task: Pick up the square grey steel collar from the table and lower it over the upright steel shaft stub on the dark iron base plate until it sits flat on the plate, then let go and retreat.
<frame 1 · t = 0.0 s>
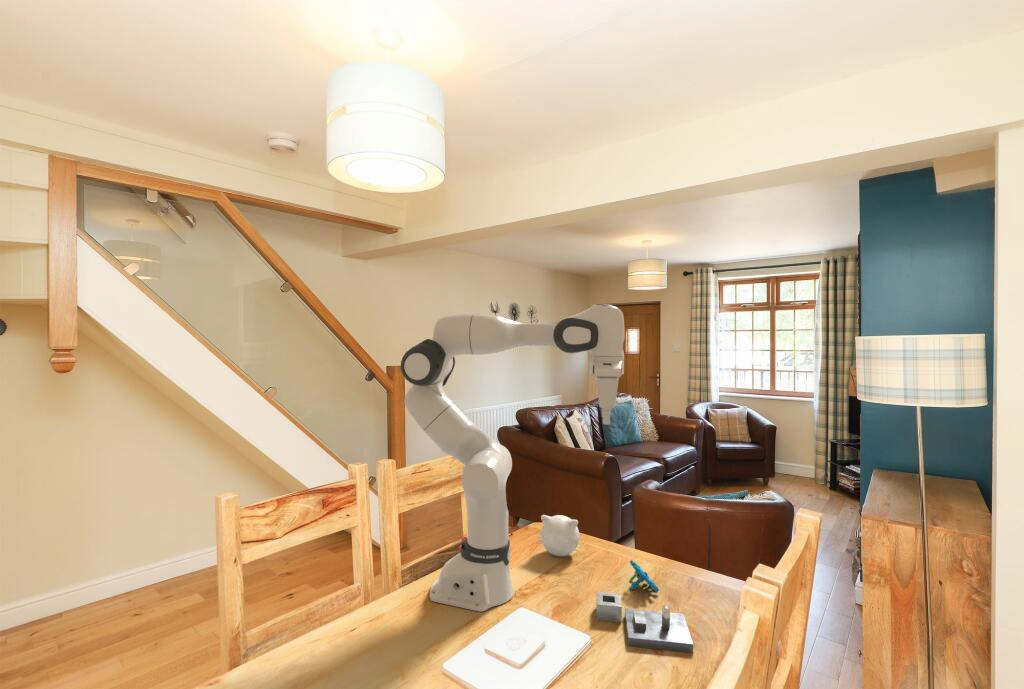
hand: (605, 420, 130), 48 cm above the table, tool pointing down, fingers open, 8 cm apart
collar: (608, 614, 126), on the table
cat head: (559, 554, 160), on the table
gear: (643, 589, 139), on the table
shaft stand: (656, 633, 118), on the table
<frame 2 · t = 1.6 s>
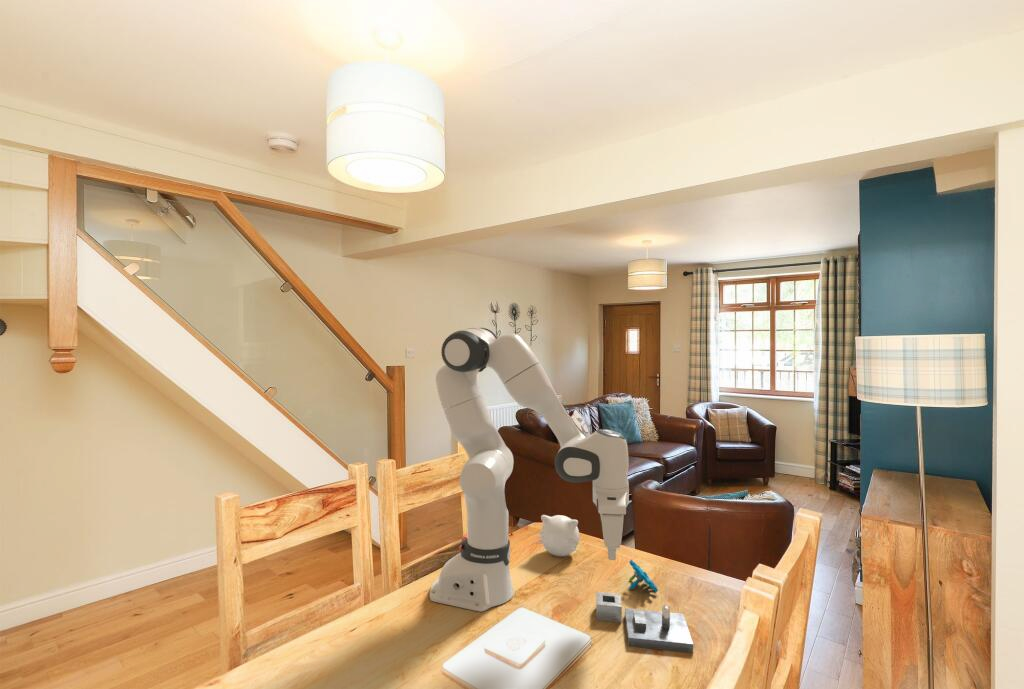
hand: (611, 550, 125), 16 cm above the table, tool pointing down, fingers open, 8 cm apart
nothing on the table moved.
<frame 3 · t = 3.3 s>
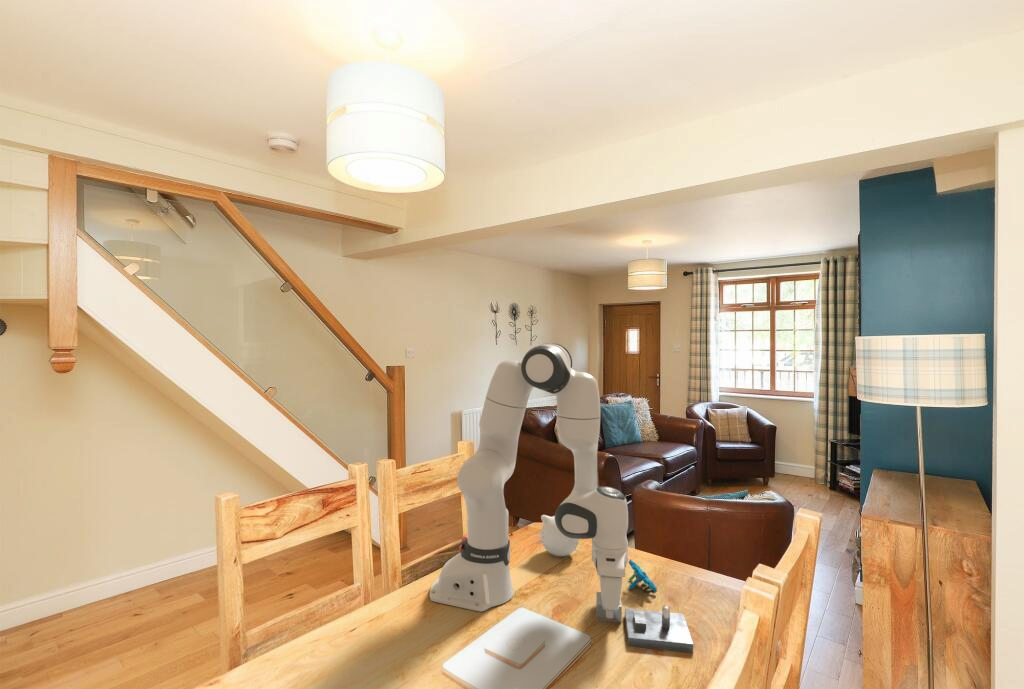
hand: (608, 608, 126), 2 cm above the table, tool pointing down, fingers closed on collar, 6 cm apart
collar: (608, 614, 126), on the table, touching gripper
everything else where it was.
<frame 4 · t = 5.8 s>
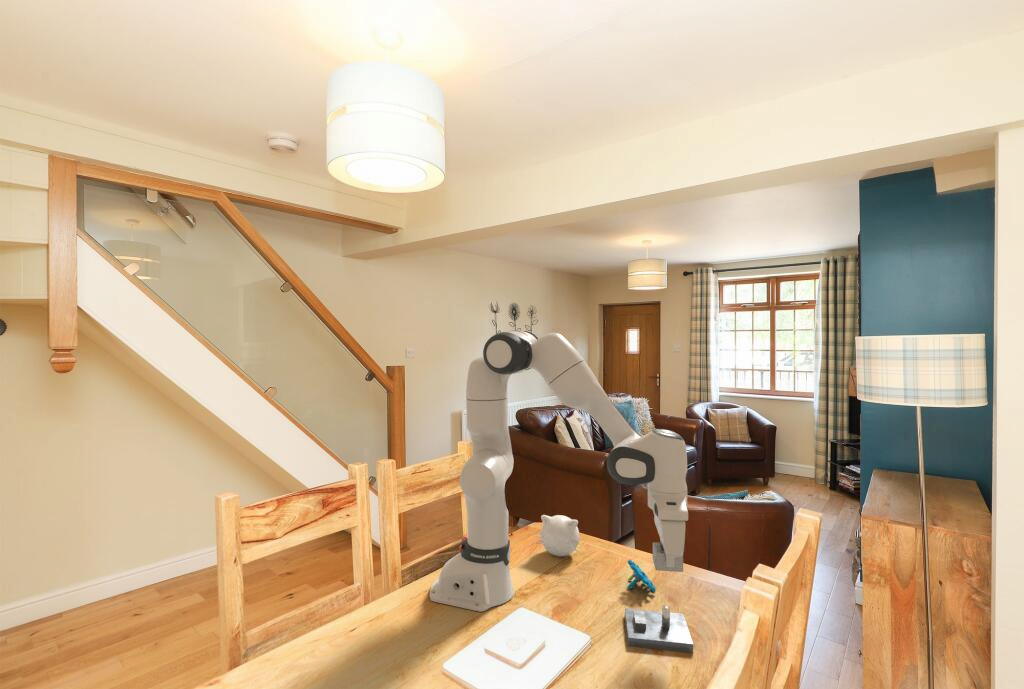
hand: (667, 558, 118), 18 cm above the table, tool pointing down, fingers closed on collar, 6 cm apart
collar: (667, 565, 118), point 16 cm above the table, touching gripper
everything else where it was.
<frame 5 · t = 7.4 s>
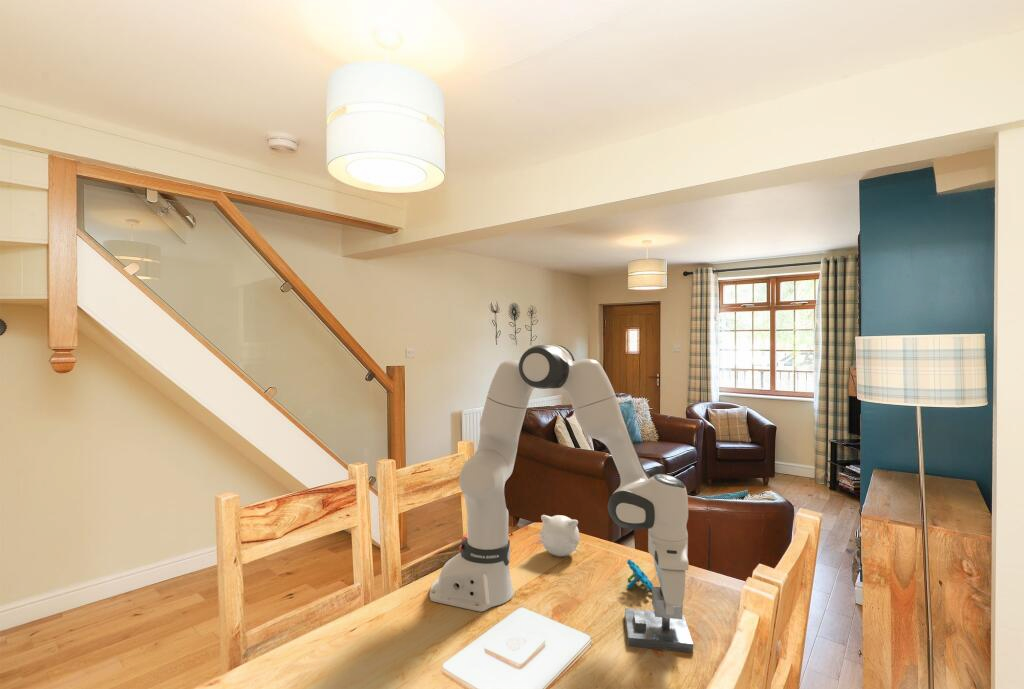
hand: (666, 604, 118), 7 cm above the table, tool pointing down, fingers closed on collar, 6 cm apart
collar: (666, 610, 118), point 6 cm above the table, touching gripper
everything else where it was.
when the fingers open (5 cm above the table, at t = 8.4 s): collar drops 1 cm, resting on shaft stand.
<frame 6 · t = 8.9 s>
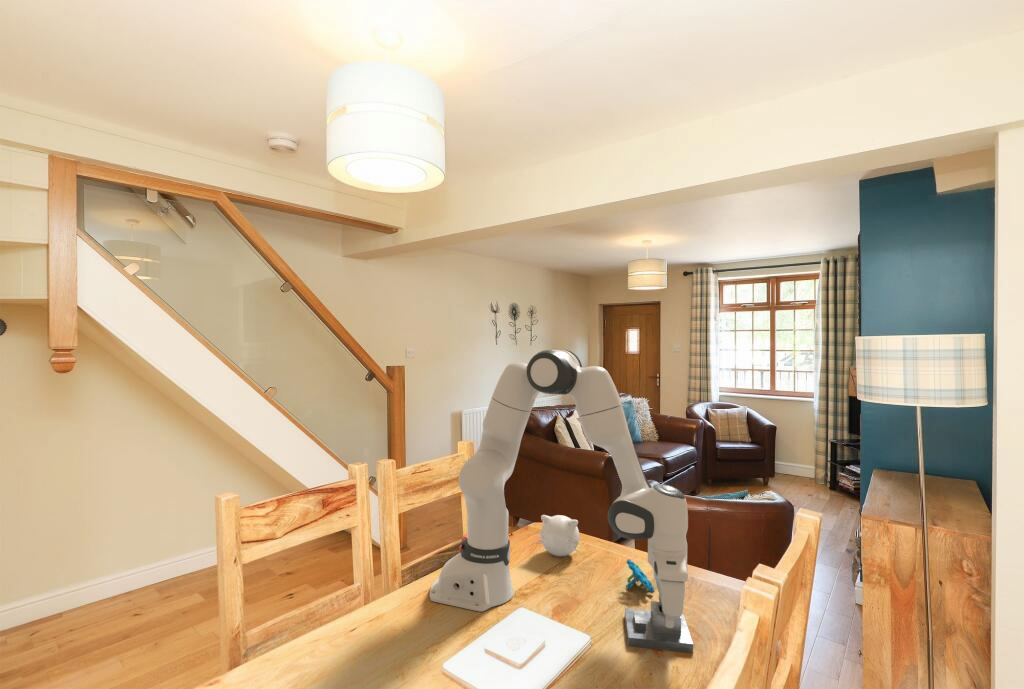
hand: (665, 614, 118), 5 cm above the table, tool pointing down, fingers open, 8 cm apart
collar: (665, 625, 118), point 2 cm above the table, touching shaft stand
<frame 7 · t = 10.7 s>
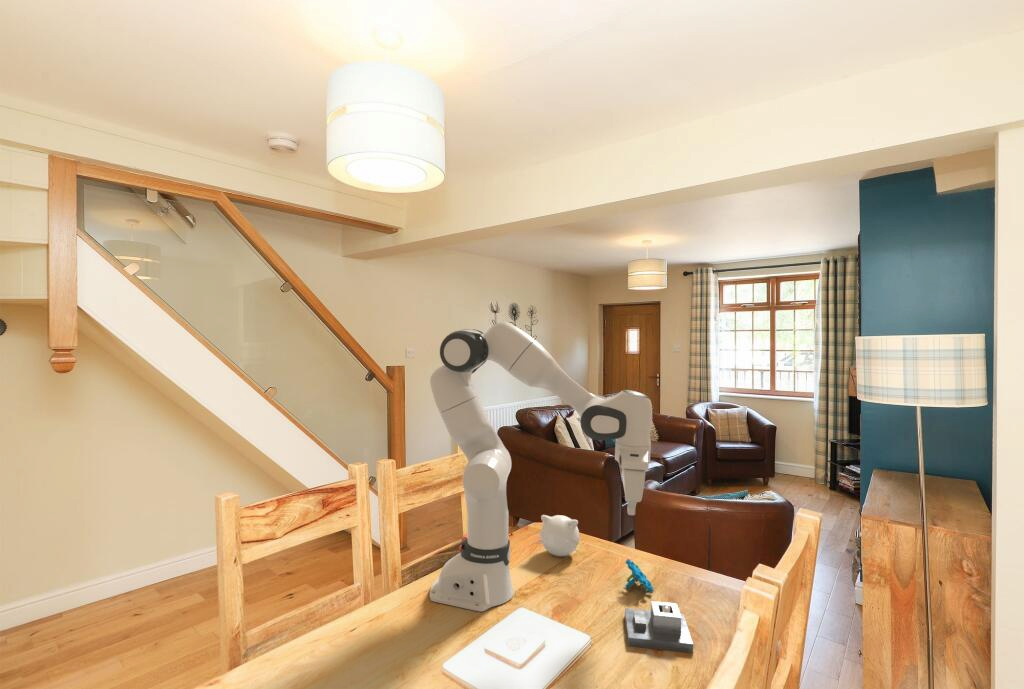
hand: (629, 507, 129), 26 cm above the table, tool pointing down, fingers open, 8 cm apart
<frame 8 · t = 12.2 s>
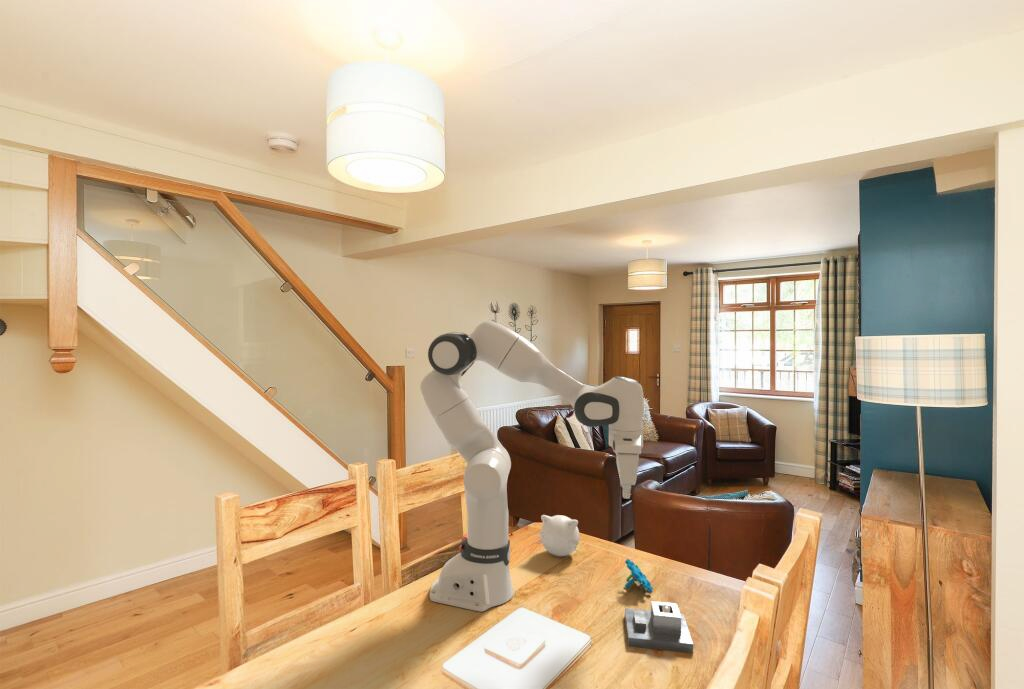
hand: (624, 491, 131), 29 cm above the table, tool pointing down, fingers open, 8 cm apart
at the end: collar 0.1 cm from the target spot on the shaft stand, point 2.0 cm above the shaft stand's base; the gripper is holding nothing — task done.
